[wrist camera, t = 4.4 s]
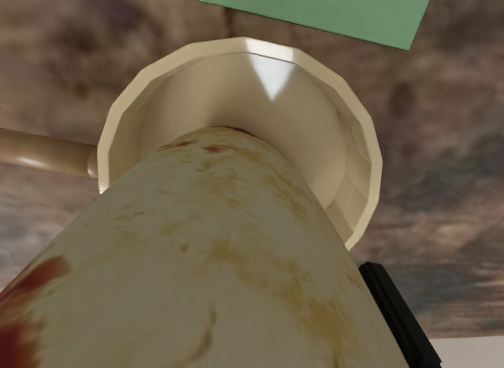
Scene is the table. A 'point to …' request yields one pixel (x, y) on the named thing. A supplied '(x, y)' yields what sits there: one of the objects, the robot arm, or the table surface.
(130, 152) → the pan
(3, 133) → the brown rod
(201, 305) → the food model
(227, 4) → the napkin
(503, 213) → the table surface
